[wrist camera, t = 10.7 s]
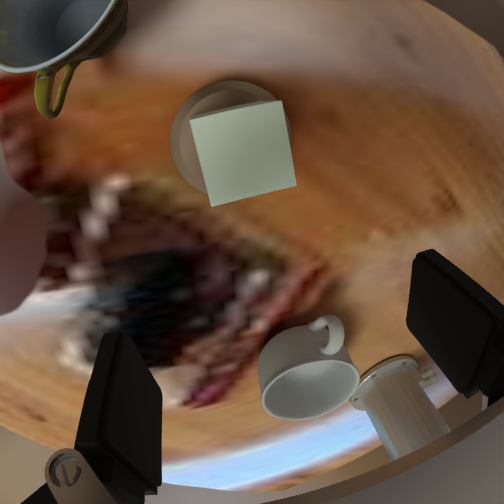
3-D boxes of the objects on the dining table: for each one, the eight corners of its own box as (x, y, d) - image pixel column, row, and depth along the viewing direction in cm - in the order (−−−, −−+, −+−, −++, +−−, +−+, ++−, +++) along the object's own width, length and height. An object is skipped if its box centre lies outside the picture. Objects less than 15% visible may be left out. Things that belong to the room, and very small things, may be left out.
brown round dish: (268, 74, 23) (280, 70, 20) (288, 173, 27) (301, 183, 24) (161, 99, 23) (156, 98, 19) (188, 198, 27) (188, 212, 24)
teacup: (308, 379, 41) (327, 424, 34) (235, 369, 37) (246, 421, 30) (362, 300, 36) (395, 343, 29) (285, 278, 32) (310, 327, 25)
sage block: (259, 101, 21) (281, 100, 15) (272, 165, 23) (296, 185, 18) (190, 116, 20) (189, 120, 15) (206, 181, 23) (211, 206, 18)
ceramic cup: (46, -8, 15) (-8, -40, 6) (152, -31, 17) (136, -87, 8) (40, 122, 21) (-25, 138, 12) (146, 105, 23) (119, 106, 14)
